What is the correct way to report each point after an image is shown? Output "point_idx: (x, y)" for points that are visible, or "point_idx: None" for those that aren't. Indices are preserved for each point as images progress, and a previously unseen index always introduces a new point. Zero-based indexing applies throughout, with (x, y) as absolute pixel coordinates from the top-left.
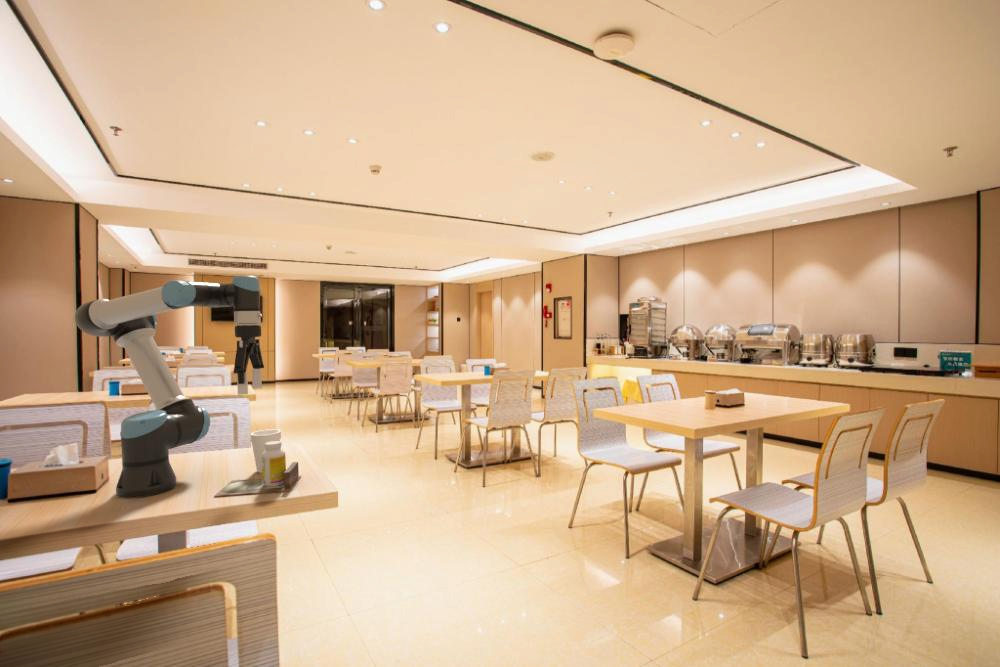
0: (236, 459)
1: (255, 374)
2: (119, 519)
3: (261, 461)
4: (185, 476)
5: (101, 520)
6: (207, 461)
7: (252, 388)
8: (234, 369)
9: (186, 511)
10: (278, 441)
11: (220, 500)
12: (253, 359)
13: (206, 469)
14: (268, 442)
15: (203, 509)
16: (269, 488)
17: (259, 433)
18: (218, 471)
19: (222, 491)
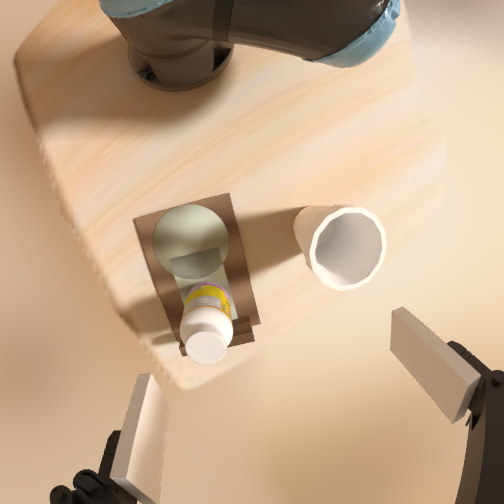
0: (389, 113)
1: (439, 377)
2: (45, 131)
3: (296, 233)
4: (270, 63)
5: (44, 106)
6: (374, 58)
7: (392, 311)
8: (52, 497)
9: (74, 216)
10: (219, 355)
11: (122, 242)
12: (470, 479)
13: (320, 81)
14: (207, 336)
15: (84, 240)
16: (182, 303)
17: (366, 217)
18: (306, 115)
19: (158, 219)
